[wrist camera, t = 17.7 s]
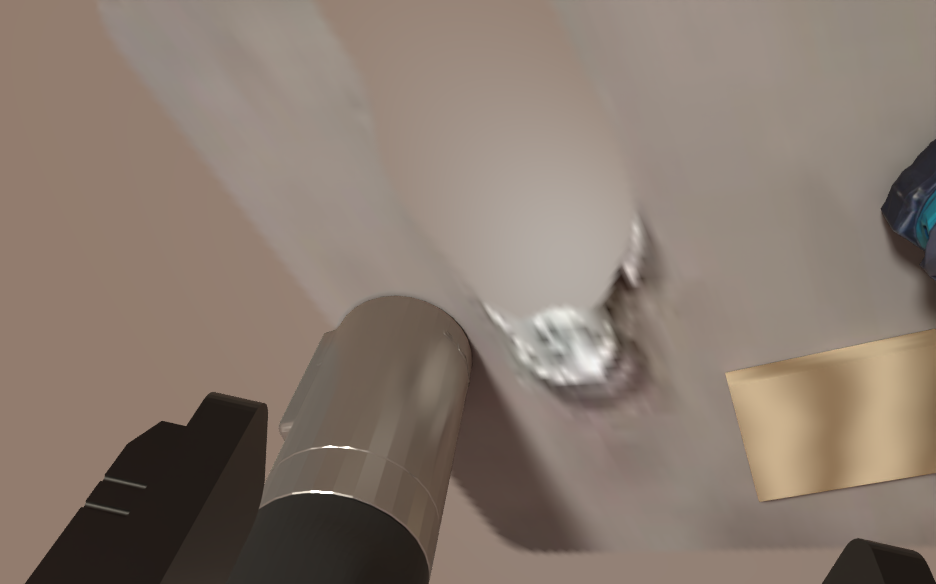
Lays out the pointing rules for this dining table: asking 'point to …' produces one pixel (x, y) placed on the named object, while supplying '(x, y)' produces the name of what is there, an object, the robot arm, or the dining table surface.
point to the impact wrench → (916, 206)
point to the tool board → (839, 416)
